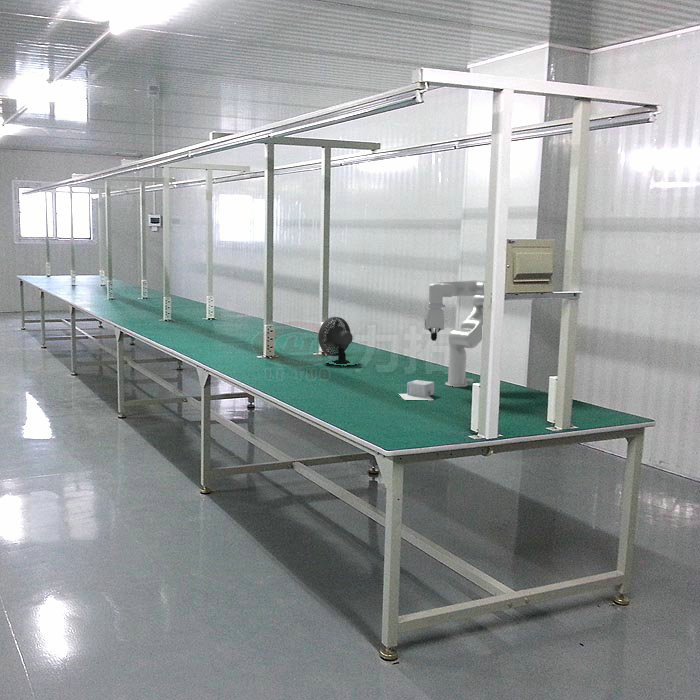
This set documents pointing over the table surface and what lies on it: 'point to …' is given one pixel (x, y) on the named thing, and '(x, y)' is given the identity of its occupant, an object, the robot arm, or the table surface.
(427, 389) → the light bulb box
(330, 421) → the table surface
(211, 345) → the table surface
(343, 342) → the fan
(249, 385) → the table surface
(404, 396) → the mat
